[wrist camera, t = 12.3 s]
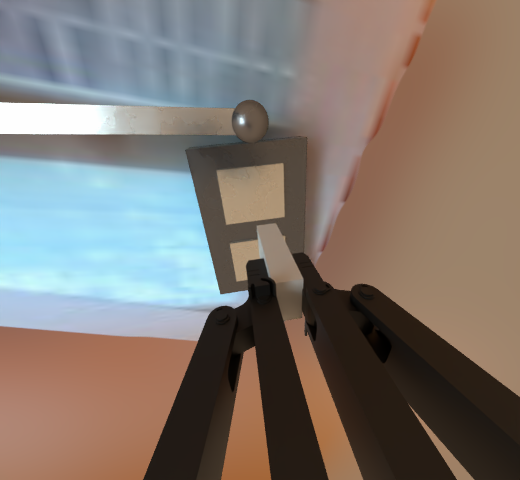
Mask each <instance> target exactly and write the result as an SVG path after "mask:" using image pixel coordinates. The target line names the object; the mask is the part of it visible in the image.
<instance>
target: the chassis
mask: <svg viewBox="0 0 520 480" xmlns="http://www.w3.org/2000/svg"><path fill="white" fill-rule="evenodd" d="M185 151H186V155H187V159H188V163H189V167H190V171H191V175H192V179H193V183H194V187H195V192H196V196H197V200H198V204H199V208H200V212H201V216H202V220H203V224H204V228H205V233H206V237H207V241H208V245H209V249H210V253H211V257H212V261H213V265H214V269H215V273H216V278H217V282H218V286H219V290H220V294H226V293H232V292H238V291H245V290H248V280H247V271H246V264H247V262H248V260H255V259H260V256H259V246H258V235H257V225H265V224H273V223H276V224H277V226H278V228H279V230H280V232H281V234H282V236H283V238H284V240H285V242H286V244H287V246H288V248H289V251H290V253H291V254H293V253H301V252H303V253H304V226H305V194H306V161H307V137H301V136H298V137H288V138H278V139H268V140H259V141H257V142H254V143H247V142H238V143H228V144H219V145H209V146H199V147H190V148H188V149H186V150H185Z"/></svg>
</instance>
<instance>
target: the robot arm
mask: <svg viewBox="0 0 520 480" xmlns="http://www.w3.org/2000/svg"><path fill="white" fill-rule="evenodd" d="M257 235H258V246H259V256H260V259H255V260H248V262H247V264H246V271H247V280H248V292H249V297H248V300H247V301H246V302H245V303H244V304H243V305H241V306H239V307H237V308H235V309H233V308H232V307H230V306H220V307H218V308H216V309H214V310H213V311H212V312H211V313H210V314H209V316H208V318H207V320H206V323H205V325H204V328H203V330H202V333H201V335H200V338H199V340H198V343H197V346H196V348H195V351H194V353H193V356H192V358H191V361H190V363H189V366H188V369H187V371H186V373H185V376H184V378H183V381H182V383H181V386H180V389H179V391H178V393H177V396H176V399H175V401H174V404H173V406H172V409H171V411H170V414H169V416H168V419H167V421H166V424H165V426H164V429H163V431H162V434H161V436H160V439H159V441H158V444H157V446H156V449H155V451H154V454H153V457H152V459H151V461H150V464H149V466H148V469H147V472H146V474H145V477H144V479H143V480H221V476H222V470H223V465H224V459H225V453H226V448H227V442H228V437H229V431H230V426H231V420H232V415H233V409H234V403H235V398H236V392H237V387H238V381H239V375H240V370H241V364H242V359H243V353H244V352H245V351H246V350H248V349H250V348H252V347H254V346H255V348H256V357H257V364H258V373H259V381H260V390H261V398H262V407H263V414H264V422H265V431H266V439H267V448H268V456H269V465H270V473H271V480H328V476H327V473H326V469H325V465H324V462H323V459H322V455H321V451H320V448H319V444H318V441H317V437H316V434H315V430H314V427H313V423H312V420H311V417H310V413H309V409H308V405H307V402H306V399H305V395H304V391H303V388H302V384H301V381H300V377H299V374H298V370H297V367H296V363H295V360H294V356H293V352H292V349H291V345H290V342H289V338H288V335H287V331H286V328H285V324H284V321H285V320H291V319H297V318H302V311H303V314H304V316H305V336H307V332H308V335H309V337H310V340H311V342H312V345H313V348H314V350H315V353H316V355H317V358H318V361H319V364H320V366H321V369H322V371H323V374H324V377H325V379H326V382H327V385H328V387H329V390H330V393H331V395H332V398H333V400H334V403H335V406H336V408H337V411H338V414H339V416H340V419H341V422H342V424H343V427H344V429H345V432H346V435H347V437H348V440H349V442H350V445H351V448H352V451H353V453H354V456H355V458H356V461H357V464H358V466H359V469H360V472H361V474H362V477H363V480H457V479H456V478H455V476H454V475H453V473H452V471H451V470H450V468H449V467H448V465H447V463H446V462H445V460H444V459H443V457H442V456H441V454H440V453H439V451H438V450H437V448H436V446H435V445H434V443H433V442H432V440H431V439H430V437H429V436H428V434H427V433H426V431H425V429H424V428H423V426H422V425H421V423H420V422H419V420H418V418H417V417H416V416H415V414H414V412H413V411H412V409H413V410H414V411H415V412H416V413H417V414H418V415H419V417H420V418H421V419H422V420H423V421H424V422H425V423H426V424H427V426H428V427H429V428H430V429H431V430H432V431H433V433H434V434H435V435H436V436H437V437H438V438H439V440H440V441H441V442H442V443H443V444H444V445H445V446H446V447H447V449H448V450H449V451H450V452H451V453H452V454H453V456H454V457H455V458H456V459H457V460H458V461H459V462H460V463H461V465H462V466H463V467H464V468H465V469H466V470H467V472H468V473H469V474H470V475H471V476H472V477H473V478H474V479H475V480H520V397H519V396H518V395H516V394H515V393H514V392H512V391H511V390H510V389H508V388H507V387H506V386H504V385H503V384H502V383H500V382H499V381H498V380H496V379H495V378H494V377H492V376H491V375H490V374H489V373H487V372H486V371H485V370H483V369H482V368H481V367H479V366H478V365H477V364H475V363H474V362H473V361H471V360H470V359H469V358H467V357H466V356H465V355H464V354H462V353H461V352H460V351H458V350H457V349H456V348H454V347H453V346H452V345H450V344H449V343H448V342H446V341H445V340H444V339H442V338H441V337H440V336H438V335H437V334H436V333H435V332H433V331H432V330H430V329H429V328H428V327H427V326H425V325H424V324H423V323H421V322H420V321H419V320H417V319H416V318H415V317H413V316H412V315H411V314H409V313H408V312H407V311H405V310H404V309H403V308H402V307H400V306H399V305H398V304H396V303H395V302H393V301H392V300H391V299H390V298H388V297H387V296H386V295H384V294H383V293H382V292H380V291H379V290H378V289H376V288H375V287H373V286H370V285H367V284H357V285H355V286H353V287H352V289H351V291H345V290H337V289H334V288H333V287H332V286H331V285H330V284H329V283H327V282H324V281H323V280H322V278H321V277H320V275H319V273H318V272H317V270H316V268H315V267H314V265H313V264H312V262H311V260H310V259H309V257H308V256H307V255H306V254H304V253H303V252H301V253H293V254H291V253H290V251H289V248H288V246H287V244H286V242H285V240H284V238H283V236H282V234H281V232H280V230H279V228H278V226H277V224H276V223H273V224H265V225H257ZM408 404H409V405H410V406H411V407H412V409H411V408H410V406H409V405H408Z"/></svg>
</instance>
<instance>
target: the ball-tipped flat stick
mask: <svg viewBox="0 0 520 480" xmlns="http://www.w3.org/2000/svg"><path fill="white" fill-rule="evenodd" d="M268 124H269V120H268V115H267V112H266V110H265V108H264V107H263V106H262V105H261V104H260V103H258V102H257V101H254V100H246V101H243V102H241V103H240V104H238V105H237V107H236V108H192V107H150V106H108V105H66V104H23V103H0V133H8V134H146V135H236V136H237V137H238V138H239V139H241V140H242V141H244V142H247V143H254V142H257V141H259V140H260V139H262V138H263V137H264V135H265V134H266V132H267V129H268Z"/></svg>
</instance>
